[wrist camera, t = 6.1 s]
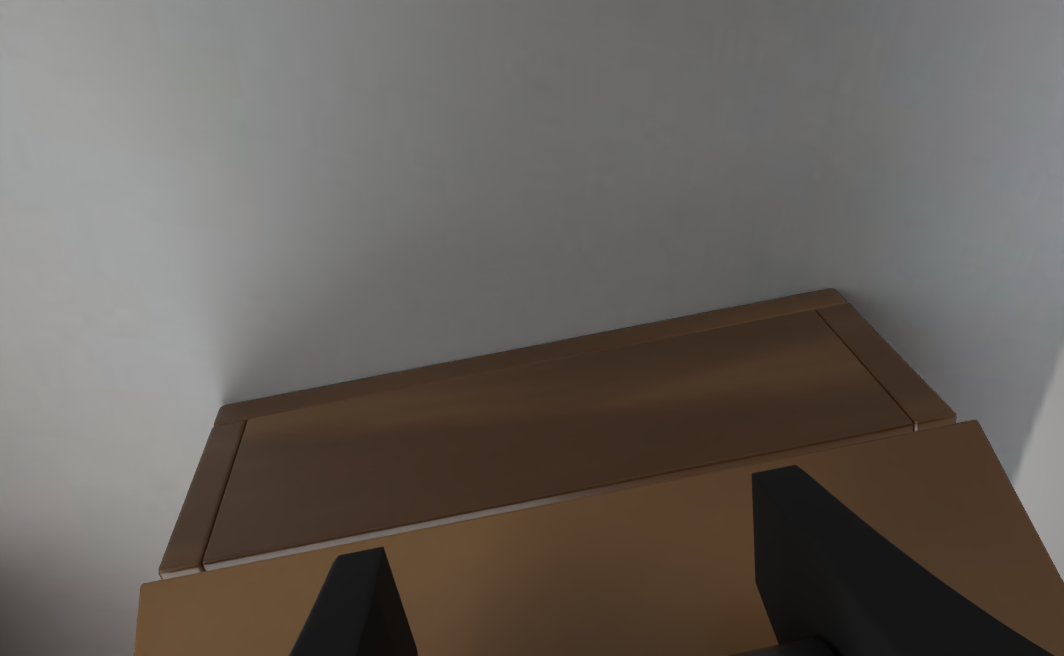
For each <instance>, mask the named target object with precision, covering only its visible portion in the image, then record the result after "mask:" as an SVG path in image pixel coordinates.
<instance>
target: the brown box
mask: <svg viewBox="0 0 1064 656" xmlns="http://www.w3.org/2000/svg"><path fill="white" fill-rule="evenodd" d="M792 465H797V466H798V467H800V468H801V469H803V470H804V471H805V472H806V473H807V474H809V475H810V476H811V477H812V478H813V479H815V480H816V481H817V482H818V483H819V484H820V485H822V486H823V487H824V488H825V489H826V490H827V491H829V492H830V493H831V494H832V495H833V496H835V497H836V498H837V499H838V500H839V501H841V502H842V503H843V504H844V505H845V506H847V507H848V508H849V509H850V510H851V511H853V512H854V513H855V514H856V515H857V516H859V517H860V518H861V519H862V520H864V521H865V522H866V523H867V524H868V525H870V526H871V527H872V528H873V529H875V530H876V531H877V532H878V533H880V534H881V535H882V536H883V537H885V538H886V539H887V540H888V541H890V542H891V543H892V544H894V545H895V546H896V547H898V548H899V549H900V550H901V551H903V552H904V553H905V554H907V555H908V556H909V557H911V558H912V559H913V560H915V561H916V562H917V563H919V564H920V565H921V566H923V567H924V568H925V569H926V570H928V571H929V572H930V573H932V574H933V575H934V576H936V577H937V578H939V579H940V580H941V581H943V582H944V583H945V584H947V585H948V586H950V587H951V588H952V589H954V590H955V591H957V592H958V593H959V594H961V595H962V596H964V597H965V598H967V599H968V600H970V601H971V602H972V603H974V604H975V605H977V606H978V607H980V608H981V609H983V610H984V611H986V612H987V613H988V614H990V615H991V616H993V617H994V618H996V619H997V620H999V621H1000V622H1002V623H1003V624H1005V625H1006V626H1008V627H1010V628H1011V629H1013V630H1014V631H1016V632H1017V633H1019V634H1020V635H1022V636H1023V637H1025V638H1027V639H1028V640H1030V641H1031V642H1033V643H1035V644H1036V645H1038V646H1040V647H1041V648H1043V649H1045V650H1046V651H1048V652H1050V653H1051V654H1053V655H1055V656H1064V582H1063V580H1062V579H1061V577H1060V575H1059V573H1058V571H1057V569H1056V567H1055V565H1054V564H1053V562H1052V560H1051V558H1050V556H1049V554H1048V552H1047V550H1046V548H1045V547H1044V545H1043V543H1042V541H1041V539H1040V537H1039V535H1038V534H1037V532H1036V530H1035V528H1034V526H1033V524H1032V522H1031V520H1030V519H1029V516H1028V515H1027V513H1026V511H1025V509H1024V507H1023V505H1022V503H1021V501H1020V499H1019V498H1018V496H1017V494H1016V492H1015V490H1014V488H1013V486H1012V484H1011V483H1010V481H1009V479H1008V477H1007V475H1006V473H1005V471H1004V469H1003V467H1002V466H1001V464H1000V462H999V460H998V458H997V456H996V454H995V452H994V450H993V449H992V447H991V445H990V443H989V441H988V439H987V437H986V435H985V434H984V432H983V430H982V428H981V426H980V424H979V422H978V421H977V420H971V421H966V422H961V423H956V424H950V425H945V426H940V427H935V428H930V429H925V430H920V431H915V432H910V433H905V434H900V435H895V436H890V437H884V438H879V439H874V440H869V441H864V442H859V443H854V444H849V445H844V446H839V447H834V448H829V449H824V450H819V451H813V452H808V453H803V454H798V455H793V456H788V457H783V458H778V459H773V460H768V461H763V462H758V463H753V464H748V465H742V466H737V467H732V468H727V469H722V470H717V471H712V472H707V473H702V474H697V475H692V476H687V477H682V478H677V479H671V480H666V481H661V482H656V483H651V484H646V485H641V486H636V487H631V488H626V489H621V490H616V491H611V492H606V493H600V494H595V495H590V496H585V497H580V498H575V499H570V500H565V501H560V502H555V503H550V504H545V505H540V506H534V507H529V508H524V509H519V510H514V511H509V512H504V513H499V514H494V515H489V516H484V517H479V518H474V519H469V520H463V521H458V522H453V523H448V524H443V525H438V526H433V527H428V528H423V529H418V530H413V531H408V532H403V533H398V534H392V535H387V536H382V537H377V538H372V539H367V540H362V541H357V542H352V543H347V544H342V545H337V546H332V547H327V548H321V549H316V550H311V551H306V552H301V553H296V554H291V555H286V556H281V557H276V558H271V559H266V560H261V561H256V562H250V563H245V564H240V565H235V566H230V567H225V568H220V569H215V570H210V571H205V572H200V573H195V574H190V575H184V576H179V577H174V578H169V579H164V580H159V581H154V582H149V583H144V584H142V585H141V587H140V598H139V609H138V620H137V630H136V641H135V652H134V656H289V654H290V652H291V650H292V649H293V647H294V645H295V643H296V641H297V639H298V637H299V634H300V632H301V630H302V628H303V626H304V624H305V622H306V620H307V618H308V616H309V614H310V612H311V610H312V608H313V605H314V603H315V601H316V599H317V597H318V595H319V592H320V590H321V588H322V586H323V584H324V581H325V579H326V577H327V575H328V572H329V570H330V568H331V566H332V563H333V562H334V561H335V559H336V558H337V557H338V556H339V555H343V554H348V553H353V552H358V551H363V550H368V549H373V548H378V547H384V550H385V553H386V556H387V559H388V562H389V565H390V568H391V571H392V574H393V577H394V580H395V583H396V586H397V589H398V592H399V595H400V598H401V601H402V604H403V607H404V610H405V614H406V617H407V620H408V623H409V626H410V629H411V632H412V635H413V638H414V641H415V644H416V647H417V651H418V656H835V654H834V653H833V651H832V650H831V649H830V647H829V646H828V645H827V644H826V643H825V642H824V641H822V640H820V639H816V638H808V639H803V640H798V641H793V642H789V643H784V644H778V641H777V639H776V636H775V633H774V631H773V628H772V626H771V623H770V620H769V618H768V615H767V612H766V610H765V607H764V604H763V601H762V599H761V596H760V593H759V590H758V588H757V585H756V582H755V558H754V529H753V501H752V473H756V472H761V471H766V470H771V469H776V468H781V467H787V466H792Z"/></svg>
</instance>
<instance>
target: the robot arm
mask: <svg viewBox="0 0 1064 656" xmlns="http://www.w3.org/2000/svg"><path fill="white" fill-rule="evenodd" d="M752 501H753V529H754V558H755V582H756V585H757V588H758V590H759V593H760V596H761V599H762V601H763V604H764V607H765V610H766V612H767V615H768V618H769V620H770V623H771V626H772V628H773V631H774V633H775V636H776V639H777V641H778V644H784V643H789V642H793V641H798V640H803V639H808V638H816V639H820V640H822V641H824V642H825V643H826V644H827V645H828V646H829V647H830V649H831V650H832V651H833V653H834V654H835V656H1055V655H1053V654H1051V653H1050V652H1048V651H1046V650H1045V649H1043V648H1041V647H1040V646H1038V645H1036V644H1035V643H1033V642H1031V641H1030V640H1028V639H1027V638H1025V637H1023V636H1022V635H1020V634H1019V633H1017V632H1016V631H1014V630H1013V629H1011V628H1010V627H1008V626H1006V625H1005V624H1003V623H1002V622H1000V621H999V620H997V619H996V618H994V617H993V616H991V615H990V614H988V613H987V612H986V611H984V610H983V609H981V608H980V607H978V606H977V605H975V604H974V603H972V602H971V601H970V600H968V599H967V598H965V597H964V596H962V595H961V594H959V593H958V592H957V591H955V590H954V589H952V588H951V587H950V586H948V585H947V584H945V583H944V582H943V581H941V580H940V579H939V578H937V577H936V576H934V575H933V574H932V573H930V572H929V571H928V570H926V569H925V568H924V567H923V566H921V565H920V564H919V563H917V562H916V561H915V560H913V559H912V558H911V557H909V556H908V555H907V554H905V553H904V552H903V551H901V550H900V549H899V548H898V547H896V546H895V545H894V544H892V543H891V542H890V541H888V540H887V539H886V538H885V537H883V536H882V535H881V534H880V533H878V532H877V531H876V530H875V529H873V528H872V527H871V526H870V525H868V524H867V523H866V522H865V521H864V520H862V519H861V518H860V517H859V516H857V515H856V514H855V513H854V512H853V511H851V510H850V509H849V508H848V507H847V506H845V505H844V504H843V503H842V502H841V501H839V500H838V499H837V498H836V497H835V496H833V495H832V494H831V493H830V492H829V491H827V490H826V489H825V488H824V487H823V486H822V485H820V484H819V483H818V482H817V481H816V480H815V479H813V478H812V477H811V476H810V475H809V474H807V473H806V472H805V471H804V470H803V469H801V468H800V467H798V466H797V465H792V466H787V467H781V468H776V469H771V470H766V471H761V472H756V473H752ZM289 656H418V651H417V647H416V644H415V641H414V638H413V635H412V632H411V629H410V626H409V623H408V620H407V617H406V614H405V610H404V607H403V604H402V601H401V598H400V595H399V592H398V589H397V586H396V583H395V580H394V577H393V574H392V571H391V568H390V565H389V562H388V559H387V556H386V553H385V550H384V547H378V548H373V549H368V550H363V551H358V552H353V553H348V554H343V555H339V556H338V557H337V558H336V559H335V561H334V562H333V563H332V566H331V568H330V570H329V572H328V575H327V577H326V579H325V581H324V584H323V586H322V588H321V590H320V592H319V595H318V597H317V599H316V601H315V603H314V605H313V608H312V610H311V612H310V614H309V616H308V618H307V620H306V622H305V624H304V626H303V628H302V630H301V632H300V634H299V637H298V639H297V641H296V643H295V645H294V647H293V649H292V650H291V652H290V654H289Z"/></svg>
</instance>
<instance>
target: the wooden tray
mask: <svg viewBox="0 0 1064 656" xmlns="http://www.w3.org/2000/svg"><path fill="white" fill-rule="evenodd" d="M956 417H957V416H956V413H955V412H954V411H953V410H952V409H951V408H950V407H949V406H948V405H947V404H946V403H945V402H944V401H943V400H942V399H941V398H940V396H939V395H938V394H937V393H936V392H935V391H934V390H933V389H932V388H931V387H930V386H929V385H928V384H927V383H926V382H925V381H924V380H923V379H922V378H921V377H920V376H919V375H918V374H917V373H916V372H915V371H914V370H913V369H912V368H911V367H910V366H909V365H908V364H907V362H906V361H905V360H904V359H903V358H902V357H901V356H900V355H899V354H898V353H897V352H896V351H895V350H894V349H893V348H892V347H891V346H890V345H889V344H888V343H887V342H886V341H885V340H884V339H883V338H882V337H881V336H880V335H879V334H878V333H877V332H876V331H875V329H874V328H873V327H872V326H871V325H870V324H869V323H868V322H867V321H866V320H865V319H864V318H863V317H862V316H861V315H860V314H859V313H858V312H857V311H856V310H855V309H854V308H853V307H852V306H851V305H850V304H848V303H847V301H846V300H845V299H844V298H843V297H842V296H841V295H840V294H839V293H838V292H837V291H836V290H835V289H826V290H821V291H816V292H810V293H805V294H800V295H795V296H790V297H785V298H779V299H774V300H769V301H764V302H759V303H753V304H748V305H743V306H738V307H733V308H728V309H722V310H717V311H712V312H707V313H702V314H697V315H691V316H686V317H681V318H676V319H671V320H665V321H660V322H655V323H650V324H645V325H640V326H634V327H629V328H624V329H619V330H614V331H609V332H603V333H598V334H593V335H588V336H583V337H577V338H572V339H567V340H562V341H557V342H552V343H546V344H541V345H536V346H531V347H526V348H521V349H515V350H510V351H505V352H500V353H495V354H489V355H484V356H479V357H474V358H469V359H464V360H458V361H453V362H448V363H443V364H438V365H433V366H427V367H422V368H417V369H412V370H407V371H401V372H396V373H391V374H386V375H381V376H376V377H370V378H365V379H360V380H355V381H350V382H345V383H339V384H334V385H329V386H324V387H319V388H313V389H308V390H303V391H298V392H293V393H288V394H282V395H277V396H272V397H267V398H262V399H256V400H251V401H246V402H241V403H236V404H231V405H225V406H222V407H220V409H219V411H218V414H217V417H216V419H215V422H214V427H213V428H212V430H211V433H210V435H209V438H208V440H207V443H206V446H205V448H204V451H203V454H202V456H201V459H200V462H199V464H198V467H197V469H196V472H195V475H194V477H193V480H192V483H191V485H190V488H189V491H188V493H187V496H186V498H185V501H184V504H183V506H182V509H181V512H180V514H179V517H178V519H177V522H176V525H175V527H174V530H173V533H172V535H171V538H170V541H169V543H168V546H167V548H166V551H165V554H164V556H163V559H162V562H161V564H160V567H159V575H160V577H161V579H162V580H164V579H169V578H174V577H179V576H184V575H190V574H195V573H200V572H205V571H210V570H215V569H220V568H225V567H230V566H235V565H240V564H245V563H250V562H256V561H261V560H266V559H271V558H276V557H281V556H286V555H291V554H296V553H301V552H306V551H311V550H316V549H321V548H327V547H332V546H337V545H342V544H347V543H352V542H357V541H362V540H367V539H372V538H377V537H382V536H387V535H392V534H398V533H403V532H408V531H413V530H418V529H423V528H428V527H433V526H438V525H443V524H448V523H453V522H458V521H463V520H469V519H474V518H479V517H484V516H489V515H494V514H499V513H504V512H509V511H514V510H519V509H524V508H529V507H534V506H540V505H545V504H550V503H555V502H560V501H565V500H570V499H575V498H580V497H585V496H590V495H595V494H600V493H606V492H611V491H616V490H621V489H626V488H631V487H636V486H641V485H646V484H651V483H656V482H661V481H666V480H671V479H677V478H682V477H687V476H692V475H697V474H702V473H707V472H712V471H717V470H722V469H727V468H732V467H737V466H742V465H748V464H753V463H758V462H763V461H768V460H773V459H778V458H783V457H788V456H793V455H798V454H803V453H808V452H813V451H819V450H824V449H829V448H834V447H839V446H844V445H849V444H854V443H859V442H864V441H869V440H874V439H879V438H884V437H890V436H895V435H900V434H905V433H910V432H915V431H920V430H925V429H930V428H935V427H940V426H945V425H950V424H956Z"/></svg>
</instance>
